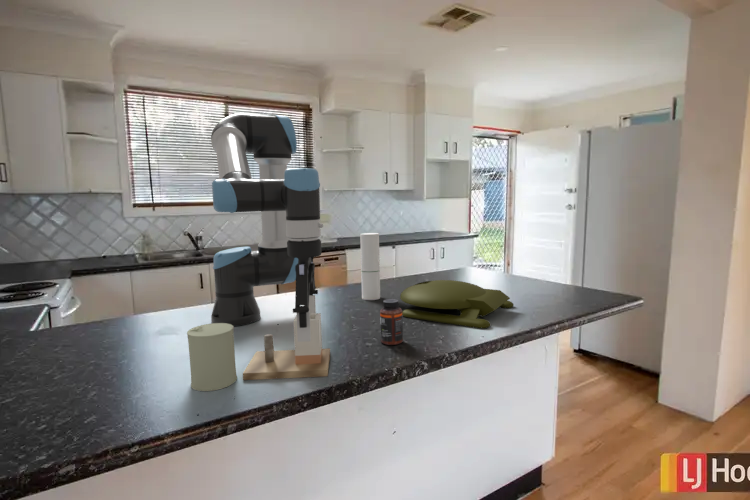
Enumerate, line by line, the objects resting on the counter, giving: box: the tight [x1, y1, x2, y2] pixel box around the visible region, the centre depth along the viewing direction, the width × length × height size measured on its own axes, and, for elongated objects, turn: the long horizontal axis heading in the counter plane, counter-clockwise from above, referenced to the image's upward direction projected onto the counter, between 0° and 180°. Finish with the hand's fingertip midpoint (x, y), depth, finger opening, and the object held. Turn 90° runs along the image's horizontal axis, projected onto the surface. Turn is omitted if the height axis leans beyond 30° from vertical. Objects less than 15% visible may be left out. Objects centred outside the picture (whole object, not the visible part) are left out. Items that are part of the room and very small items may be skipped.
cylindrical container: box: [359, 232, 381, 301], centre depth 159 cm, size 7×7×25 cm
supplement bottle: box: [379, 298, 404, 346], centre depth 110 cm, size 6×6×11 cm
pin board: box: [242, 333, 331, 381], centre depth 95 cm, size 18×13×8 cm
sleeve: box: [293, 312, 323, 364], centre depth 95 cm, size 6×6×10 cm
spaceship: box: [399, 279, 514, 329], centre depth 140 cm, size 35×31×10 cm
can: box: [186, 322, 238, 392], centre depth 87 cm, size 9×9×12 cm
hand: (307, 330), depth 95 cm, fingers open, 13 cm apart
